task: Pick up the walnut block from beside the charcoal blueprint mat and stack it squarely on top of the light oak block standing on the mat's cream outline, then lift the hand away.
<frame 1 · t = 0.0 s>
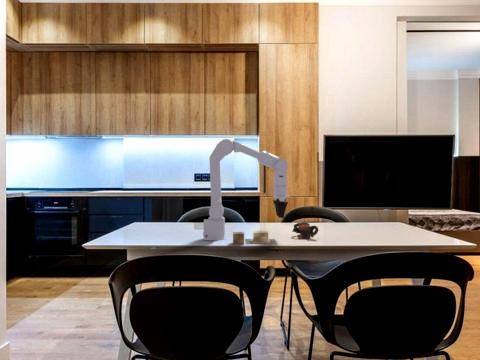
hand: (280, 216, 183), 10 cm above the table, tool pointing down, fingers open, 7 cm apart
blueprint mat: (260, 242, 175), on the table
pottery mug: (305, 238, 187), on the table
oak block: (260, 241, 176), resting on blueprint mat
walnut block: (238, 244, 170), on the table
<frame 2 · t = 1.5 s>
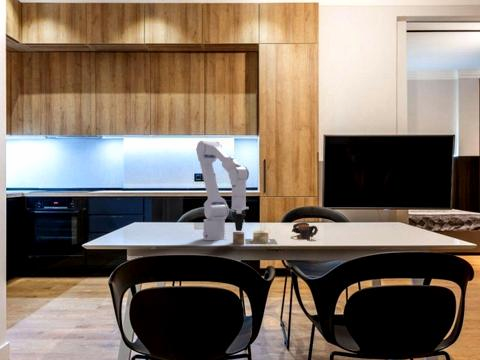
hand: (238, 229, 170), 6 cm above the table, tool pointing down, fingers open, 7 cm apart
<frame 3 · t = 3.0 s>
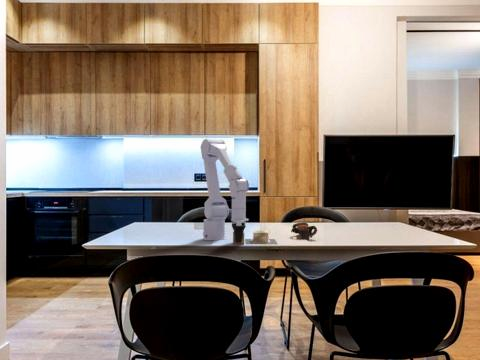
hand: (238, 241, 170), 1 cm above the table, tool pointing down, fingers closed on walnut block, 4 cm apart
walnut block: (238, 244, 170), on the table, touching gripper
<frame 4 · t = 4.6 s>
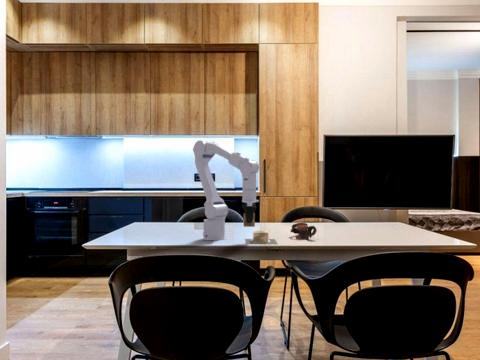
hand: (249, 222, 173), 9 cm above the table, tool pointing down, fingers closed on walnut block, 4 cm apart
walnut block: (249, 225, 173), point 7 cm above the table, touching gripper
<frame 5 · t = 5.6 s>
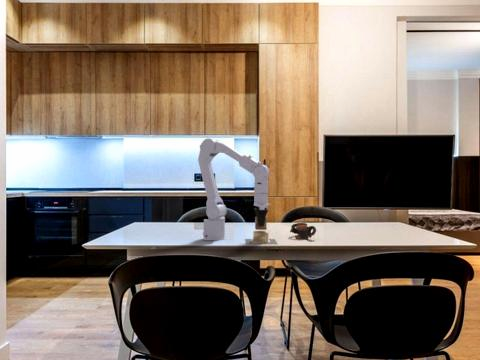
hand: (260, 225, 176), 7 cm above the table, tool pointing down, fingers closed on walnut block, 4 cm apart
walnut block: (260, 228, 176), point 6 cm above the table, touching gripper
when the fingers open (7 cm above the table, at t = 6.3 s): walnut block drops 1 cm, resting on oak block.
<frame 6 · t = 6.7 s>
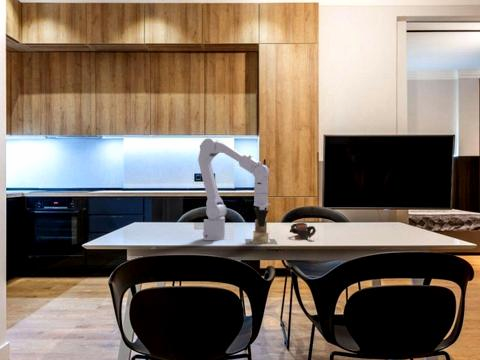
hand: (260, 225, 176), 7 cm above the table, tool pointing down, fingers open, 7 cm apart
oak block: (260, 241, 176), resting on blueprint mat, touching walnut block
walnut block: (260, 231, 176), point 4 cm above the table, touching oak block
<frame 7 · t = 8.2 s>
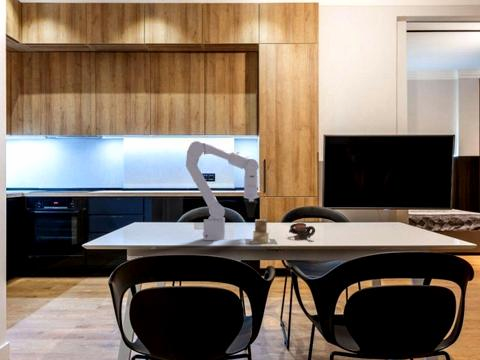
hand: (250, 216, 185), 10 cm above the table, tool pointing down, fingers open, 7 cm apart
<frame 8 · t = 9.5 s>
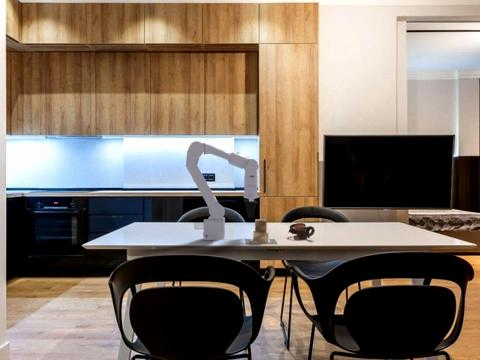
hand: (250, 216, 185), 10 cm above the table, tool pointing down, fingers open, 7 cm apart
at the end: walnut block 0.0 cm off-centre on the oak block, point 4.0 cm above the oak block's base; walnut block tilted 0°; oak block 0.0 cm from the target spot, point 0.5 cm above the table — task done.
